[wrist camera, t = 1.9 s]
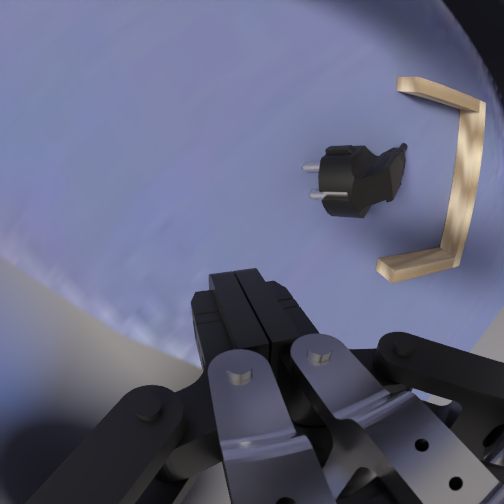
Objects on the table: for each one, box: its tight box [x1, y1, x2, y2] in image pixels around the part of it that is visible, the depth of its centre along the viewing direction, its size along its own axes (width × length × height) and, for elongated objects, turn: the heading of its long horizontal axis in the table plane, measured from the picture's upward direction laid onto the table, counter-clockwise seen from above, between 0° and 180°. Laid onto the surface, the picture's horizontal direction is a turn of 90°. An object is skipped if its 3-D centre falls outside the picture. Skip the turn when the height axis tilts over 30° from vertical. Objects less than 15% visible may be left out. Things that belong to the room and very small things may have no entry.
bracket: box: [376, 77, 486, 283], centre depth 29 cm, size 21×12×3 cm, turn 179°
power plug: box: [302, 143, 407, 218], centre depth 26 cm, size 6×8×12 cm
